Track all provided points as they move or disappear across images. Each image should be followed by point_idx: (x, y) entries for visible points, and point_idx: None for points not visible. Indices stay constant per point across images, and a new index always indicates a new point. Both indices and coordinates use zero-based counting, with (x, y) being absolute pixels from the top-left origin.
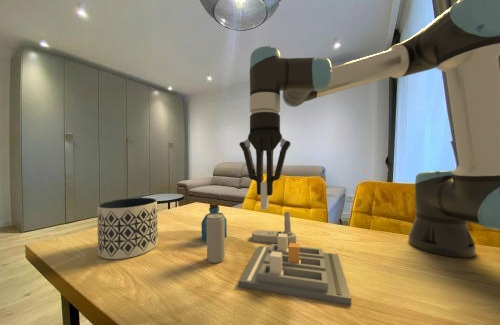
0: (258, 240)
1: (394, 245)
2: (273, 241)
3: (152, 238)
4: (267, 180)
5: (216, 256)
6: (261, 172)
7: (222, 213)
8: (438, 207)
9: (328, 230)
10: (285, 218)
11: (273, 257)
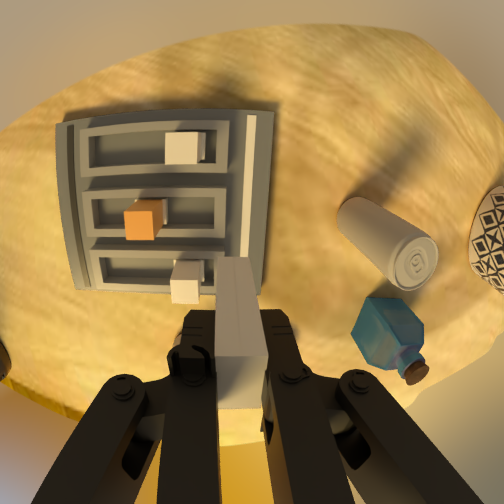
0: None
1: (19, 347)
2: None
3: (483, 241)
4: (199, 356)
5: (355, 201)
6: (277, 443)
7: (384, 369)
8: None
9: None
10: None
11: (187, 132)
